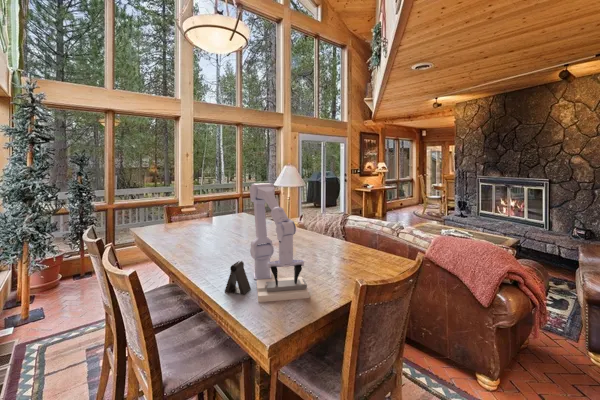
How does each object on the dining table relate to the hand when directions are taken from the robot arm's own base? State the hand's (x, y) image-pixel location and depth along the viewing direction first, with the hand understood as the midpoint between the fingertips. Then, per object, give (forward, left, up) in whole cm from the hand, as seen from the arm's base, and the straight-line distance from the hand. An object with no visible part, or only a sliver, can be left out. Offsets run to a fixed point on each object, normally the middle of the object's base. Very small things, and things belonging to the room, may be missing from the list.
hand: (286, 283), depth 117 cm
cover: (0, 0, -2) cm, 2 cm away
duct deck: (-3, -2, -4) cm, 5 cm away
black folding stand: (-7, -20, -5) cm, 21 cm away
